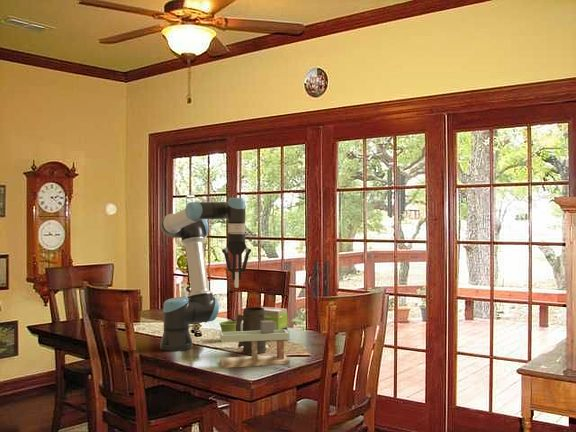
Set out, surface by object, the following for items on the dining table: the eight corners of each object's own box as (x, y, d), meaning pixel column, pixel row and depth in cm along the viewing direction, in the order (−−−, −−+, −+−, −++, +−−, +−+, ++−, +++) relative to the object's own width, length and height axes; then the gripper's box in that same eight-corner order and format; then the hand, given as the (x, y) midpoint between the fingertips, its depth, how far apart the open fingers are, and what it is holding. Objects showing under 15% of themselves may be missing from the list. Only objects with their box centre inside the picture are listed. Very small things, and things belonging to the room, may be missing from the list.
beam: (221, 342, 252) (221, 335, 252) (220, 338, 260) (220, 332, 260) (288, 339, 258) (288, 332, 258) (285, 335, 266) (285, 329, 266)
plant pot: (235, 342, 302) (235, 324, 302) (217, 341, 304) (216, 324, 304) (240, 338, 312) (240, 321, 312) (222, 337, 313) (222, 320, 313)
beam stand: (222, 367, 251) (222, 344, 251) (220, 361, 262) (219, 339, 262) (289, 363, 256) (289, 340, 256) (285, 357, 267) (284, 335, 267)
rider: (262, 337, 257) (262, 322, 257) (260, 334, 262) (260, 320, 262) (274, 336, 258) (273, 322, 258) (272, 334, 263) (271, 320, 263)
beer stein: (254, 347, 289) (252, 305, 288) (272, 350, 282) (269, 307, 281) (231, 355, 277) (229, 311, 276) (249, 359, 270) (246, 313, 269)
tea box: (252, 338, 312) (252, 308, 312) (262, 334, 321) (261, 306, 321) (278, 340, 305) (278, 310, 305) (287, 336, 314) (287, 307, 314)
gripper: (222, 233, 263) (222, 288, 263) (252, 233, 265) (252, 288, 266) (220, 232, 270) (220, 286, 271) (250, 232, 273) (250, 285, 273)
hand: (236, 287), depth 268 cm, fingers closed
